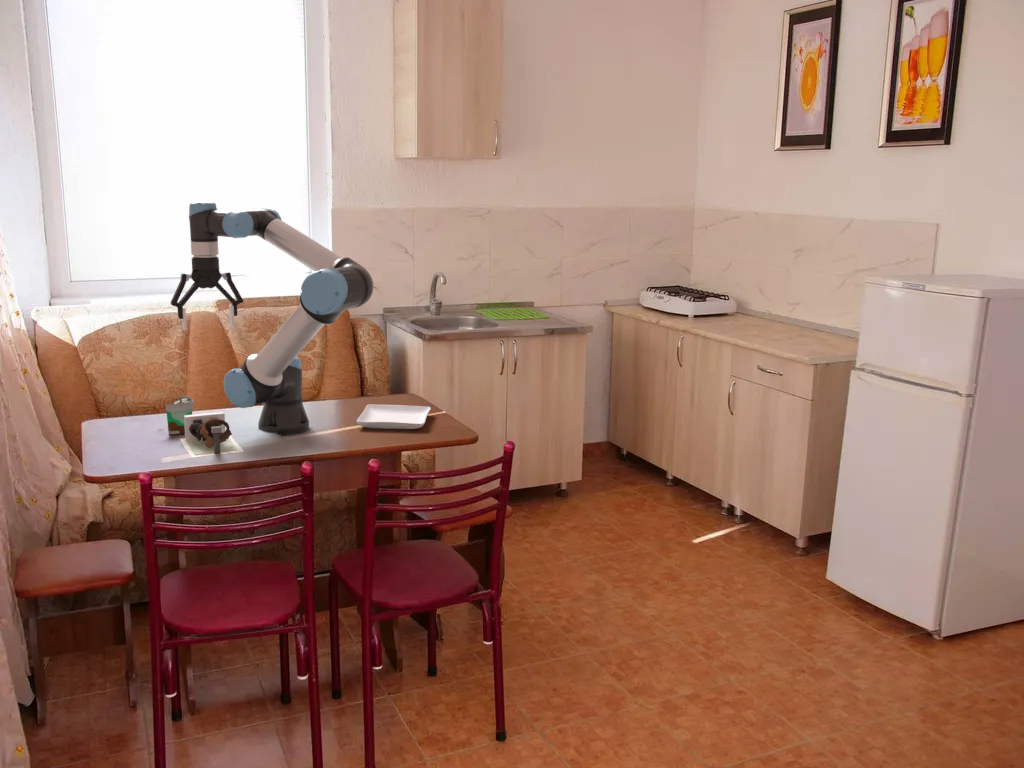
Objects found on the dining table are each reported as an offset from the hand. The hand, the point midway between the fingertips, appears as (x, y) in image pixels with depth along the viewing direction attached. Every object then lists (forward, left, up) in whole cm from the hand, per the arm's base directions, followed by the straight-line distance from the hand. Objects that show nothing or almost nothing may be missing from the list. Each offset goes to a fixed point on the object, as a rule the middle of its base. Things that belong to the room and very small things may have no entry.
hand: (208, 328), depth 275 cm
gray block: (+4, +26, -31) cm, 40 cm away
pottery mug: (+4, +16, -31) cm, 35 cm away
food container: (+8, -3, -32) cm, 33 cm away
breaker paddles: (+4, +10, -28) cm, 30 cm away
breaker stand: (+4, +17, -32) cm, 36 cm away
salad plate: (-54, +11, -32) cm, 64 cm away
